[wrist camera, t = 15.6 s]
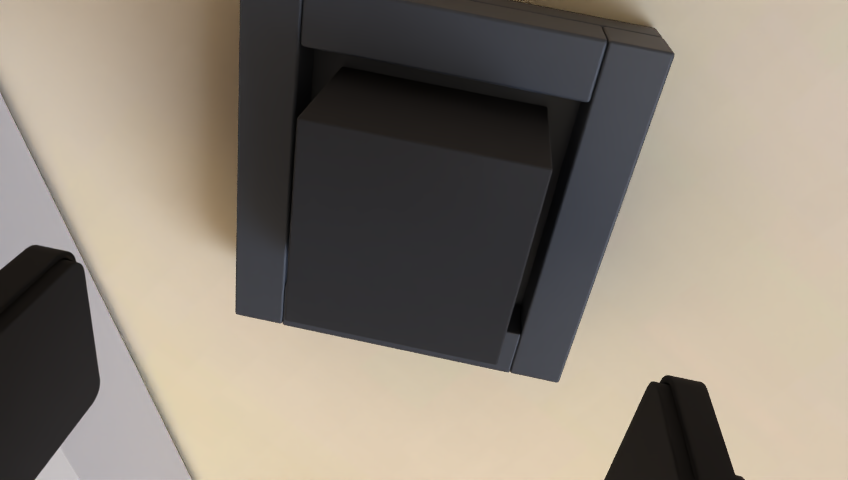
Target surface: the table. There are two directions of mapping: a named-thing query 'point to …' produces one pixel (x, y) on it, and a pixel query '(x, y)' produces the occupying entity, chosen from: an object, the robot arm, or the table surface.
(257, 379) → the table surface
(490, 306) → the black block
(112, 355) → the disc drive
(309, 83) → the base pad
